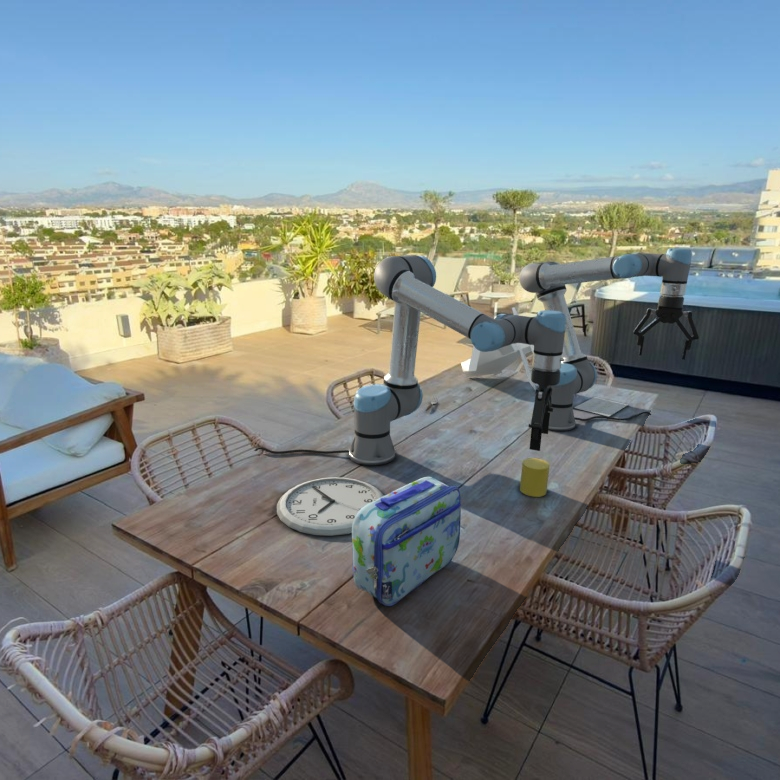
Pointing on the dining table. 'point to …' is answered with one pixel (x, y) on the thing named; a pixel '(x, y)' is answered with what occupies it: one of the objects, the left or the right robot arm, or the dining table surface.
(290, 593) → the dining table surface
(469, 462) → the dining table surface
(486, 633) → the dining table surface
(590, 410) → the grey flat slab
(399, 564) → the lunch box
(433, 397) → the fork
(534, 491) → the canister
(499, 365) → the white plastic object
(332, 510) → the wall clock
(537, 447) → the left robot arm
